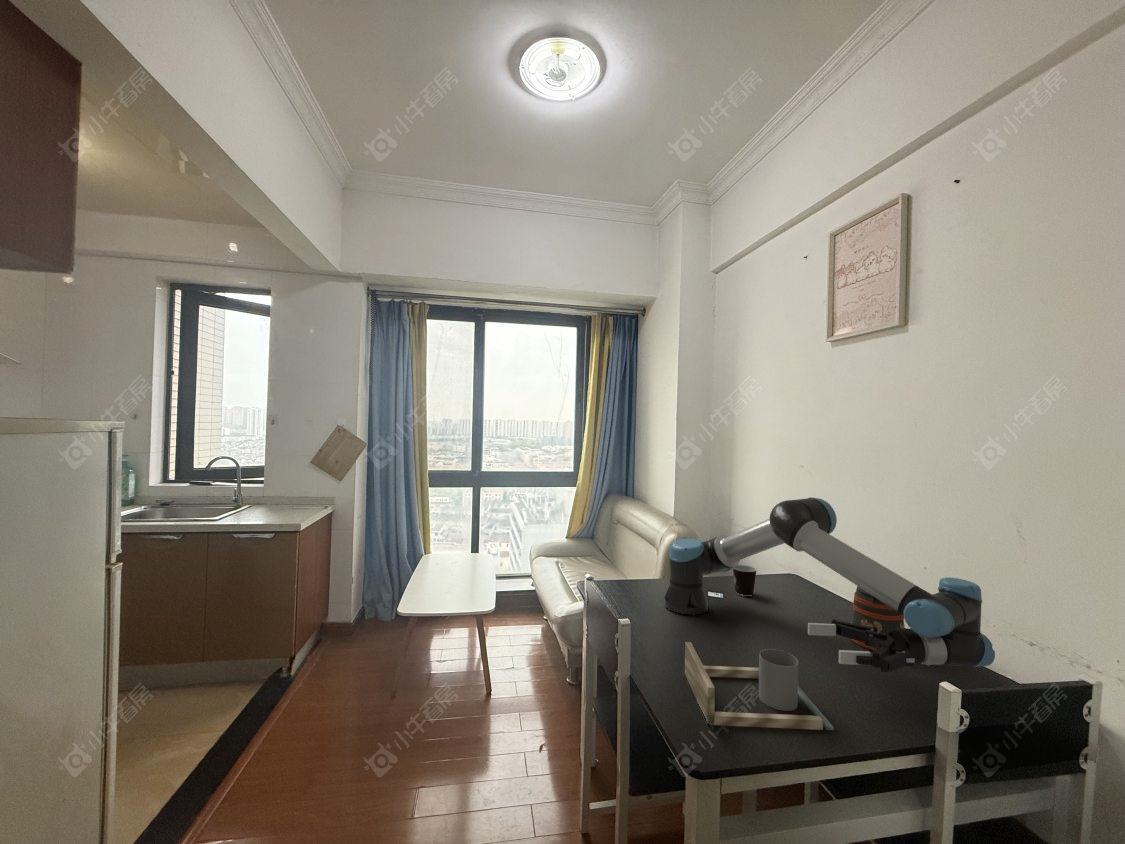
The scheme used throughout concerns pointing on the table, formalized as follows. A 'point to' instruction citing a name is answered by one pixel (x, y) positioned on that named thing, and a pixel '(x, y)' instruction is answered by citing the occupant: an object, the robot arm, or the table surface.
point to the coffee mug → (744, 579)
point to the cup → (778, 679)
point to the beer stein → (874, 615)
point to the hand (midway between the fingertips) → (822, 642)
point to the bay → (706, 701)
